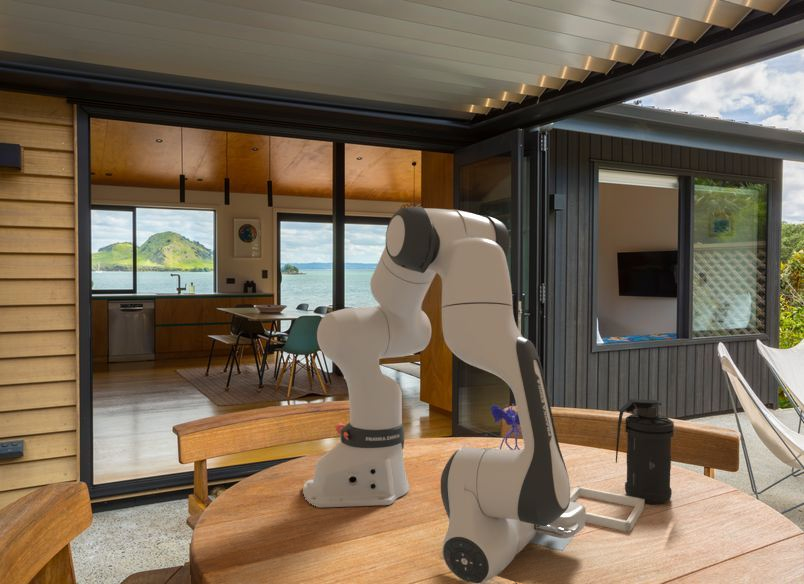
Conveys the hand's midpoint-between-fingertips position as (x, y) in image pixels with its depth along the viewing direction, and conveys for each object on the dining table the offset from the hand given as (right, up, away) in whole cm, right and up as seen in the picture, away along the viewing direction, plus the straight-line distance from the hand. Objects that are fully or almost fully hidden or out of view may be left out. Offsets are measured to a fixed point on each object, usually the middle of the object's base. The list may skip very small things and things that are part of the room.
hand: (537, 493), depth 109 cm
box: (+13, -7, +6) cm, 16 cm away
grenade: (+26, -7, +17) cm, 31 cm away
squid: (+3, -5, +42) cm, 43 cm away
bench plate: (0, -7, 0) cm, 7 cm away
